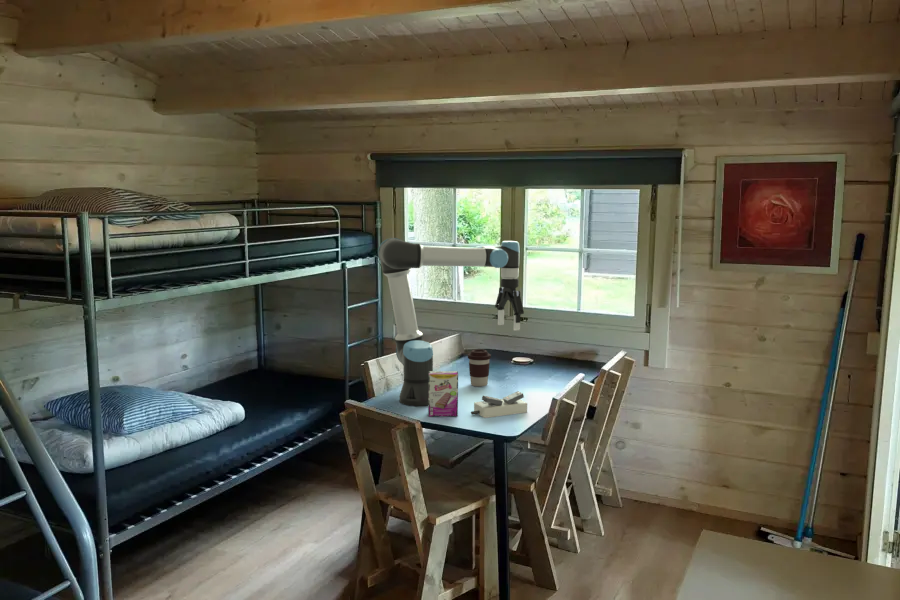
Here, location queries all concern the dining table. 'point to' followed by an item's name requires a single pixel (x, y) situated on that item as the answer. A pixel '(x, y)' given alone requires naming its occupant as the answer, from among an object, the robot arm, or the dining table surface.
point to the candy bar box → (443, 393)
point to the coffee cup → (479, 367)
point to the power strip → (499, 408)
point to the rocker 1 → (492, 400)
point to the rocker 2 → (513, 397)
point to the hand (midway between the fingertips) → (508, 327)
